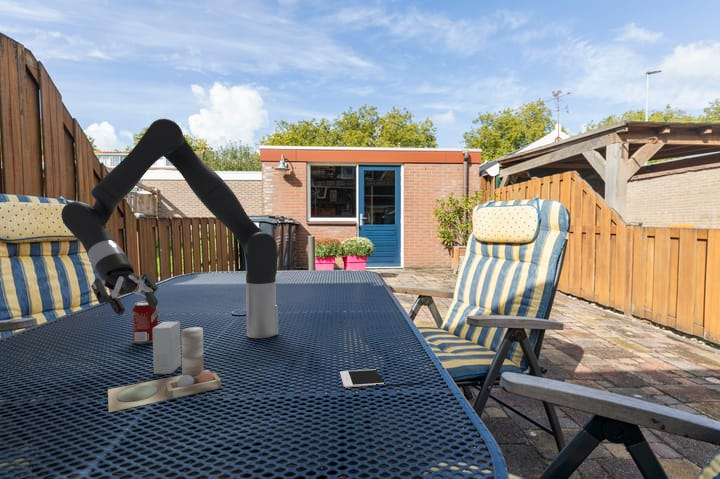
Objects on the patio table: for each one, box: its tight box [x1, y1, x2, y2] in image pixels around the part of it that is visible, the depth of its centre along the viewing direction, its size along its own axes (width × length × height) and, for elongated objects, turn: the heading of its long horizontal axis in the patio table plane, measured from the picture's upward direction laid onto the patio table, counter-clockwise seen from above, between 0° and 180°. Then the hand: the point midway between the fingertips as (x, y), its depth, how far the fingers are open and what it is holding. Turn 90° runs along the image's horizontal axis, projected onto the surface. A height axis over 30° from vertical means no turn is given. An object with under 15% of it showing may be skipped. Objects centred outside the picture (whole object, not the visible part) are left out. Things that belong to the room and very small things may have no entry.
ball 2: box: [198, 370, 214, 383], centre depth 83 cm, size 3×3×3 cm
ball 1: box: [177, 375, 194, 387], centre depth 81 cm, size 3×3×3 cm
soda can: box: [131, 300, 159, 345], centre depth 119 cm, size 7×7×12 cm
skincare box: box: [152, 321, 182, 375], centre depth 93 cm, size 6×4×12 cm
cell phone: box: [339, 368, 384, 389], centre depth 91 cm, size 9×18×1 cm, turn 99°
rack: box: [107, 326, 222, 413], centre depth 82 cm, size 20×12×12 cm, turn 123°
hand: (139, 309), depth 97 cm, fingers open, 8 cm apart
